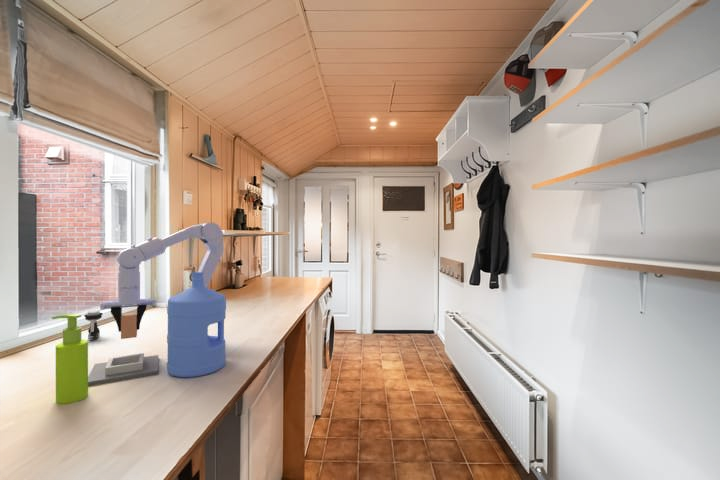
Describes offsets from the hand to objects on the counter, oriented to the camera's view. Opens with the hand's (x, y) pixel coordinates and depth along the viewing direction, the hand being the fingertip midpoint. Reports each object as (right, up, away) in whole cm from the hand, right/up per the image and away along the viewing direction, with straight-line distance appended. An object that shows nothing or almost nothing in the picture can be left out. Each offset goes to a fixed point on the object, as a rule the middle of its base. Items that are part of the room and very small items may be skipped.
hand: (129, 329), depth 108 cm
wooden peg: (0, -2, 0) cm, 2 cm away
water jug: (+25, -9, -7) cm, 28 cm away
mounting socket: (+6, -9, -10) cm, 15 cm away
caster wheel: (-25, -8, +18) cm, 32 cm away
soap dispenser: (+4, -10, -27) cm, 28 cm away
